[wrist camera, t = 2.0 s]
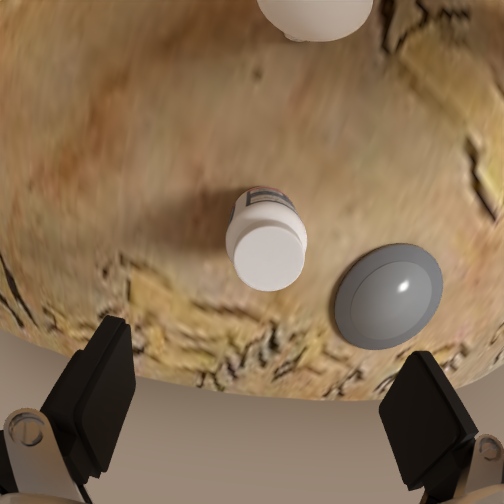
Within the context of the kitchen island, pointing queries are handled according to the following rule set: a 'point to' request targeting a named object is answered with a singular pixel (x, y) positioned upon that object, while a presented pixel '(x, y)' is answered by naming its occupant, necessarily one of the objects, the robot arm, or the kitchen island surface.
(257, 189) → the pill bottle
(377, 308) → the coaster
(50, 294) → the kitchen island surface
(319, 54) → the kitchen island surface
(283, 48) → the kitchen island surface
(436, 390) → the robot arm
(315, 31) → the light bulb
